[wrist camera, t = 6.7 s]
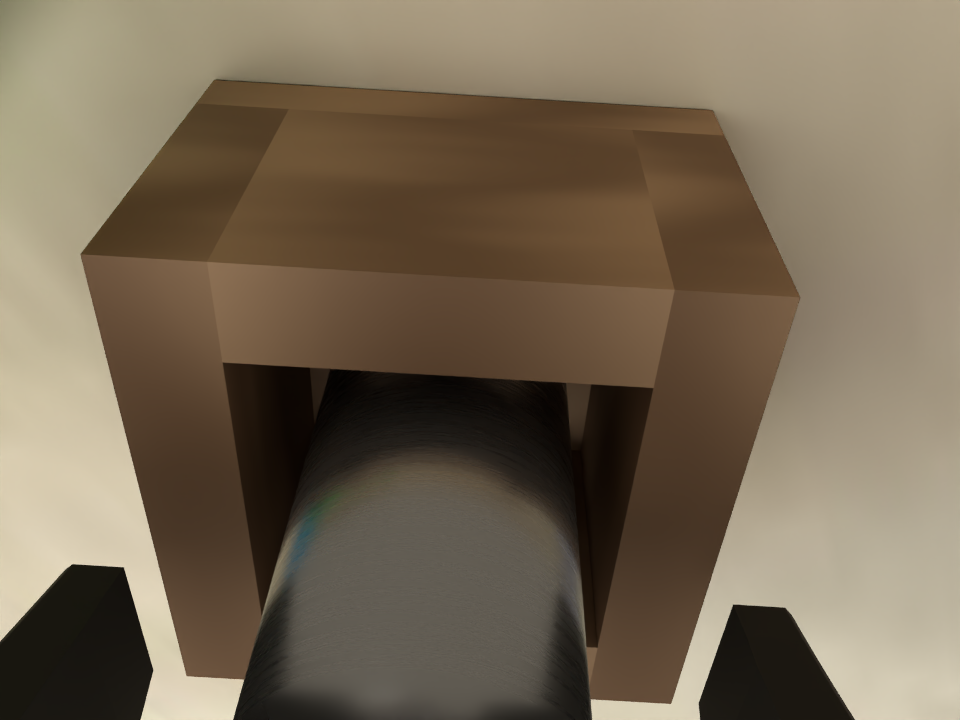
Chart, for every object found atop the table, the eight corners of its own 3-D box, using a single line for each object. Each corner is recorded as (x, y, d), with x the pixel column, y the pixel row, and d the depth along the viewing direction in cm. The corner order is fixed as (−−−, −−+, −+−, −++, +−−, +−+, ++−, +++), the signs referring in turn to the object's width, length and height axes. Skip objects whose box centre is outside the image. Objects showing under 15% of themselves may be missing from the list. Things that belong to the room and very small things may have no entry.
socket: (712, 110, 14) (800, 297, 10) (635, 470, 19) (670, 703, 15) (213, 80, 14) (80, 255, 10) (262, 448, 19) (186, 676, 15)
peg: (565, 250, 15) (604, 671, 8) (561, 433, 17) (589, 870, 11) (327, 254, 15) (184, 669, 9) (355, 435, 17) (260, 865, 11)
